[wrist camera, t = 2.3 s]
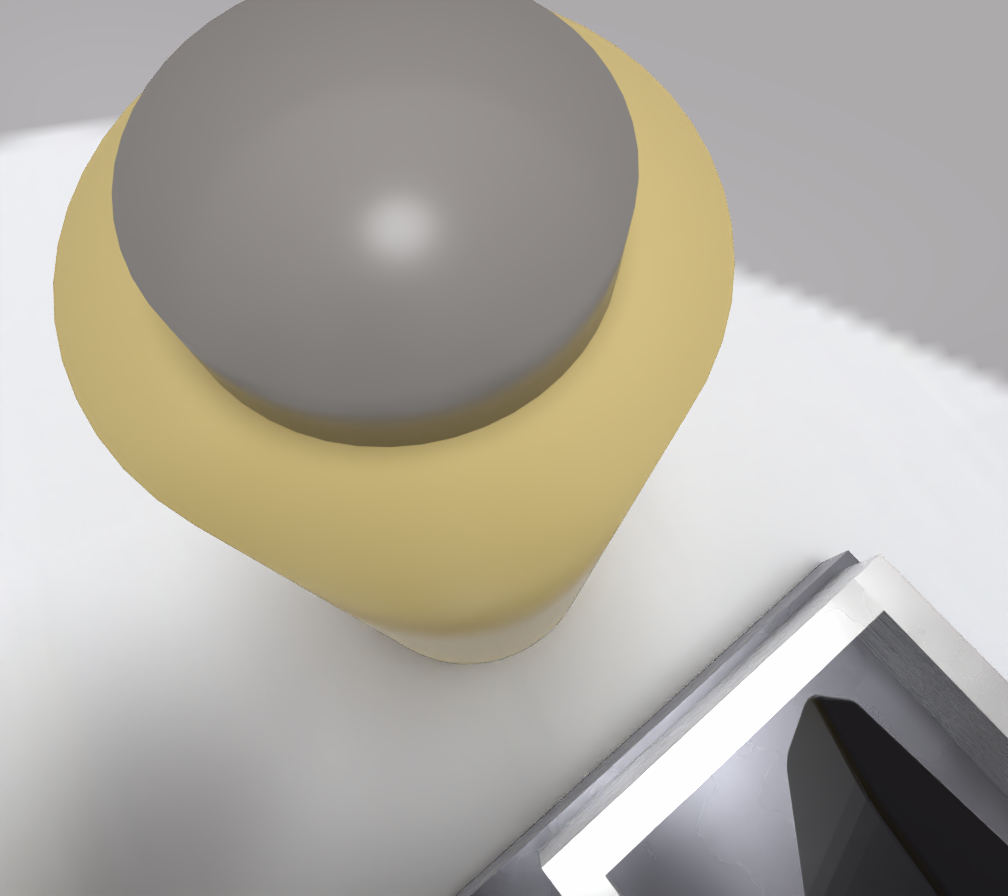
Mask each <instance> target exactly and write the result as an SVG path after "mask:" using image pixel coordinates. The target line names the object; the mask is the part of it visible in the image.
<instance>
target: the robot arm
mask: <svg viewBox="0 0 1008 896" xmlns="http://www.w3.org/2000/svg"><path fill="white" fill-rule="evenodd" d="M787 777H788V784H789V791H790V798H791V805H792V812H793V819H794V825H795V832H796V839H797V846H798V853H799V860H800V867H801V874H802V880H803V887H804V894H805V896H1008V844H1007V843H1006V842H1005V841H1004V840H1003V839H1001V838H1000V837H999V836H998V835H997V834H996V833H995V832H994V831H993V830H992V829H991V828H990V827H989V826H988V825H987V824H986V823H984V822H983V821H982V820H981V819H980V818H979V817H978V816H977V815H976V814H975V813H974V812H973V811H972V810H971V809H970V808H969V807H967V806H966V805H965V804H964V803H963V802H962V801H961V800H960V799H959V798H958V797H957V796H956V795H955V794H954V793H953V792H951V791H950V790H949V789H948V788H947V787H946V786H945V785H944V784H943V783H942V782H941V781H940V780H939V779H938V778H937V777H936V776H934V775H933V774H932V773H931V772H930V771H929V770H928V769H927V768H926V767H925V766H924V765H923V764H922V763H921V762H920V761H919V760H917V759H916V758H915V757H914V756H913V755H912V754H911V753H910V752H909V751H908V750H907V749H906V748H905V747H904V746H903V745H902V744H900V743H899V742H898V741H897V740H896V739H895V738H894V737H893V736H892V735H891V734H890V733H889V732H888V731H887V730H886V729H885V728H883V727H882V726H881V725H880V724H879V723H878V722H877V721H876V720H875V719H874V718H873V717H872V716H871V715H870V714H869V713H868V712H866V711H865V710H864V709H863V708H862V707H861V706H860V705H859V704H858V703H856V702H855V701H853V700H852V699H848V698H844V697H836V696H828V695H820V694H815V695H812V696H810V697H809V698H808V699H807V701H806V702H805V704H804V707H803V710H802V713H801V715H800V718H799V721H798V724H797V727H796V730H795V733H794V735H793V738H792V741H791V744H790V747H789V750H788V755H787Z"/></svg>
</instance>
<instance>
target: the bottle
mask: <svg viewBox="0 0 1008 896" xmlns="http://www.w3.org/2000/svg"><path fill="white" fill-rule="evenodd" d="M734 267H735V260H734V246H733V234H732V224H731V219H730V215H729V210H728V206H727V202H726V197H725V193H724V189H723V186H722V184H721V181H720V179H719V176H718V174H717V171H716V168H715V166H714V163H713V161H712V158H711V155H710V154H709V152H708V150H707V148H706V147H705V145H704V143H703V141H702V140H701V138H700V136H699V134H698V132H697V131H696V129H695V127H694V125H693V124H692V122H691V121H690V119H689V118H688V117H687V115H686V114H685V113H684V112H683V110H682V109H681V108H680V106H679V105H678V104H677V102H676V101H675V100H674V98H673V97H672V96H671V95H670V94H669V92H668V91H667V90H666V89H665V88H664V87H663V86H662V85H661V84H660V83H659V82H658V81H657V80H655V78H653V76H652V75H651V74H650V73H648V71H647V70H646V69H645V68H643V67H642V66H641V65H640V64H639V63H637V62H636V61H635V60H633V59H632V58H631V57H629V56H628V55H627V54H626V53H624V52H623V51H622V50H620V49H619V48H618V47H617V46H616V45H614V44H612V43H610V42H609V41H607V40H606V39H604V38H602V37H601V36H599V35H597V34H596V33H594V32H592V31H591V30H589V29H587V28H586V27H584V26H582V25H580V24H578V23H576V22H574V21H571V20H569V19H567V18H565V17H563V16H561V15H558V14H556V13H554V12H552V11H549V10H548V9H546V8H544V7H543V6H541V5H539V4H538V3H536V2H535V1H533V0H245V1H243V2H241V3H239V4H237V5H235V6H234V7H232V8H230V9H229V10H227V11H226V12H224V13H223V14H221V15H219V16H218V17H216V18H215V19H213V20H211V21H210V22H209V23H207V24H206V25H205V26H204V27H203V28H201V29H200V30H199V31H198V32H197V33H195V34H194V35H193V36H191V37H190V38H189V39H187V40H186V41H185V42H184V43H183V44H182V45H181V46H180V47H179V48H178V49H177V50H176V51H175V52H174V53H173V54H172V55H171V56H170V57H169V58H168V60H166V61H165V62H164V64H163V65H162V66H161V68H160V69H159V70H158V72H157V73H156V74H155V75H154V77H153V78H152V79H151V81H150V82H149V83H148V84H147V86H146V88H145V89H144V91H143V93H141V94H140V95H139V96H138V97H137V98H136V99H135V100H134V102H132V104H130V105H129V106H128V107H127V108H126V110H125V111H124V112H123V114H122V115H121V116H120V117H119V119H118V120H117V121H116V123H115V124H114V125H113V126H112V128H111V129H110V130H109V131H108V133H107V134H106V135H105V137H104V138H103V139H102V141H101V143H100V144H99V146H98V148H97V149H96V151H95V153H94V154H93V156H92V158H91V159H90V161H89V163H88V164H87V166H86V168H85V169H84V171H83V173H82V175H81V178H80V180H79V182H78V185H77V187H76V190H75V192H74V194H73V197H72V199H71V201H70V204H69V206H68V209H67V212H66V216H65V220H64V223H63V227H62V231H61V234H60V238H59V242H58V247H57V255H56V264H55V272H54V281H53V290H54V319H55V326H56V331H57V337H58V342H59V347H60V352H61V357H62V362H63V364H64V367H65V370H66V372H67V375H68V378H69V381H70V383H71V386H72V389H73V391H74V394H75V397H76V399H77V401H78V403H79V405H80V406H81V408H82V410H83V412H84V414H85V415H86V417H87V419H88V421H89V422H90V424H91V426H92V428H93V430H94V431H95V433H96V435H97V436H98V438H99V439H100V440H101V441H102V443H103V444H104V445H105V446H106V448H107V449H108V450H109V451H110V453H111V454H112V455H113V456H114V458H115V459H116V460H117V461H118V463H119V464H120V465H121V466H122V468H123V469H124V470H125V471H126V472H127V473H128V474H129V475H131V476H132V477H133V478H134V479H135V480H136V481H137V482H138V483H139V484H140V485H141V486H143V487H144V488H145V489H146V490H147V491H148V492H149V493H150V494H151V495H152V496H153V497H155V498H156V499H157V500H158V501H160V502H161V503H163V504H164V505H166V506H167V507H169V508H170V509H172V510H173V511H175V512H176V513H177V514H179V515H180V516H182V517H183V518H185V519H186V520H188V521H189V522H191V523H192V524H194V525H195V526H197V527H199V528H200V529H202V530H204V531H206V532H207V533H209V534H211V535H213V536H214V537H216V538H218V539H220V540H221V541H223V542H225V543H226V544H228V545H230V546H232V547H233V548H235V549H237V550H239V551H240V552H242V553H244V554H246V555H247V556H249V557H251V558H252V559H254V560H256V561H258V562H259V563H261V564H263V565H265V566H266V567H268V568H270V569H272V570H273V571H275V572H277V573H278V574H280V575H282V576H284V577H285V578H287V579H289V580H291V581H292V582H294V583H296V584H298V585H299V586H301V587H303V588H304V589H306V590H308V591H310V592H311V593H313V594H315V595H317V596H318V597H320V598H322V599H324V600H325V601H327V602H329V603H330V604H332V605H334V606H336V607H337V608H339V609H341V610H343V611H344V612H346V613H348V614H350V615H351V616H353V617H355V618H356V619H358V620H360V621H362V622H363V623H365V624H367V625H369V626H370V627H372V628H374V629H376V630H377V631H379V632H381V633H382V634H384V635H386V636H388V637H389V638H391V639H393V640H395V641H396V642H398V643H400V644H402V645H403V646H405V647H407V648H408V649H411V650H413V651H415V652H417V653H419V654H421V655H423V656H426V657H429V658H432V659H435V660H438V661H444V662H449V663H457V664H477V663H487V662H491V661H495V660H500V659H504V658H506V657H509V656H511V655H514V654H517V653H519V652H521V651H523V650H524V649H526V648H528V647H530V646H532V645H533V644H535V643H536V642H537V641H539V640H540V639H541V638H543V637H544V636H545V635H547V634H548V633H549V632H550V631H551V630H552V629H553V628H554V627H555V626H556V625H557V624H558V623H559V621H560V620H561V619H562V618H563V616H564V615H565V614H566V612H567V611H568V609H569V608H570V606H571V605H572V603H573V601H574V600H575V598H576V596H577V595H578V593H579V591H580V590H581V588H582V586H583V585H584V583H585V581H586V580H587V578H588V576H589V575H590V573H591V572H592V570H593V568H594V567H595V565H596V563H597V562H598V560H599V558H600V557H601V555H602V553H603V552H604V550H605V548H606V547H607V545H608V544H609V542H610V540H611V539H612V537H613V535H614V534H615V532H616V530H617V529H618V527H619V525H620V524H621V522H622V520H623V519H624V517H625V516H626V514H627V512H628V511H629V509H630V507H631V506H632V504H633V502H634V501H635V499H636V497H637V496H638V494H639V492H640V491H641V489H642V488H643V486H644V484H645V483H646V481H647V479H648V478H649V476H650V474H651V473H652V471H653V469H654V468H655V466H656V464H657V463H658V461H659V460H660V458H661V456H662V455H663V453H664V451H665V450H666V448H667V446H668V445H669V443H670V441H671V440H672V438H673V436H674V435H675V433H676V432H677V430H678V428H679V427H680V425H681V423H682V422H683V420H684V418H685V417H686V415H687V413H688V412H689V410H690V408H691V406H692V405H693V403H694V401H695V400H696V398H697V396H698V395H699V393H700V391H701V390H702V388H703V386H704V384H705V383H706V381H707V379H708V376H709V374H710V371H711V369H712V366H713V364H714V361H715V359H716V356H717V354H718V351H719V349H720V347H721V344H722V341H723V337H724V333H725V329H726V324H727V320H728V316H729V312H730V307H731V303H732V292H733V279H734Z"/></svg>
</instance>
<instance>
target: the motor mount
mask: <svg viewBox="0 0 1008 896" xmlns="http://www.w3.org/2000/svg"><path fill="white" fill-rule="evenodd" d="M815 694H820V695H828V696H836V697H844V698H848V699H852V700H853V701H855V702H856V703H858V704H859V705H860V706H861V707H862V708H863V709H864V710H865V711H866V712H868V713H869V714H870V715H871V716H872V717H873V718H874V719H875V720H876V721H877V722H878V723H879V724H880V725H881V726H882V727H883V728H885V729H886V730H887V731H888V732H889V733H890V734H891V735H892V736H893V737H894V738H895V739H896V740H897V741H898V742H899V743H900V744H902V745H903V746H904V747H905V748H906V749H907V750H908V751H909V752H910V753H911V754H912V755H913V756H914V757H915V758H916V759H917V760H919V761H920V762H921V763H922V764H923V765H924V766H925V767H926V768H927V769H928V770H929V771H930V772H931V773H932V774H933V775H934V776H936V777H937V778H938V779H939V780H940V781H941V782H942V783H943V784H944V785H945V786H946V787H947V788H948V789H949V790H950V791H951V792H953V793H954V794H955V795H956V796H957V797H958V798H959V799H960V800H961V801H962V802H963V803H964V804H965V805H966V806H967V807H969V808H970V809H971V810H972V811H973V812H974V813H975V814H976V815H977V816H978V817H979V818H980V819H981V820H982V821H983V822H984V823H986V824H987V825H988V826H989V827H990V828H991V829H992V830H993V831H994V832H995V833H996V834H997V835H998V836H999V837H1000V838H1001V839H1003V840H1004V841H1005V842H1006V843H1007V844H1008V682H1007V681H1006V680H1005V679H1004V678H1003V677H1002V676H1001V675H1000V674H999V673H998V672H997V671H996V670H995V669H994V668H993V667H992V666H991V665H990V664H989V663H988V662H987V661H986V660H985V659H984V658H983V657H982V656H981V655H980V654H979V653H978V652H977V651H976V650H975V649H974V648H973V647H972V646H971V645H970V644H969V643H968V642H967V641H966V640H965V639H964V638H963V637H962V636H961V635H960V634H959V633H958V631H957V630H956V629H955V628H954V627H953V626H952V625H951V624H950V623H949V622H948V621H947V620H946V619H945V618H944V617H943V616H942V615H941V614H940V613H939V612H938V611H937V610H936V609H935V608H934V607H933V606H932V605H931V604H930V603H929V602H928V601H927V600H926V599H925V598H924V597H923V596H922V595H921V594H920V593H919V592H918V591H917V590H916V589H915V588H914V587H913V586H912V585H911V584H910V583H909V582H908V581H907V580H906V579H905V578H904V577H903V576H902V575H901V574H900V573H899V572H898V571H897V570H896V569H895V568H894V567H893V566H892V565H891V564H890V563H889V562H888V561H887V560H886V559H885V558H884V557H883V556H882V555H881V554H879V555H877V556H874V557H872V558H870V559H867V560H865V561H862V562H859V561H858V560H857V559H856V558H855V557H854V556H853V555H852V554H851V553H850V552H849V551H846V552H844V553H841V554H839V555H837V556H835V557H833V558H831V559H828V560H826V561H824V562H822V563H821V564H820V565H819V566H818V567H817V568H816V569H815V570H813V571H812V572H811V573H810V574H809V575H808V576H807V577H806V578H805V579H804V580H802V581H801V582H800V583H799V584H798V585H797V586H796V587H795V588H794V589H793V590H791V591H790V592H789V593H788V594H787V595H786V596H785V597H784V598H783V599H782V600H780V601H779V602H778V603H777V604H776V605H775V606H774V607H773V608H772V609H771V610H769V611H768V612H767V613H766V614H765V615H764V616H763V617H762V618H761V619H760V620H758V621H757V622H756V623H755V624H754V625H753V626H752V627H751V628H750V629H749V630H747V631H746V632H745V633H744V634H743V635H742V636H741V637H740V638H739V639H738V640H736V641H735V642H734V643H733V644H732V645H731V646H730V647H729V648H728V649H727V650H725V651H724V652H723V653H722V654H721V655H720V656H719V657H718V658H717V659H716V660H714V661H713V662H712V663H711V664H710V665H709V666H708V667H707V668H706V669H705V670H703V671H702V672H701V673H700V674H699V675H698V676H697V677H696V678H695V679H694V680H692V681H691V682H690V683H689V684H688V685H687V686H686V687H685V688H684V689H683V690H681V691H680V692H679V693H678V694H677V695H676V696H675V697H674V698H673V699H672V700H671V701H669V702H668V703H667V704H666V705H665V706H664V707H663V708H662V709H661V710H660V711H658V712H657V713H656V714H655V715H654V716H653V717H652V718H651V719H650V720H649V721H647V722H646V723H645V724H644V725H643V726H642V727H641V728H640V729H639V730H638V731H636V732H635V733H634V734H633V735H632V736H631V737H630V738H629V739H628V740H627V741H625V742H624V743H623V744H622V745H621V746H620V747H619V748H618V749H617V750H616V751H614V752H613V753H612V754H611V755H610V756H609V757H608V758H607V759H606V760H605V761H603V762H602V763H601V764H600V765H599V766H598V767H597V768H596V769H595V770H594V771H592V772H591V773H590V774H589V775H588V776H587V777H586V778H585V779H584V780H583V781H581V782H580V783H579V784H578V785H577V786H576V787H575V788H574V789H573V790H572V791H570V792H569V793H568V794H567V795H566V796H565V797H564V798H563V799H562V800H561V801H559V802H558V803H557V804H556V805H555V806H554V807H553V808H552V809H551V810H550V811H548V812H547V813H546V814H545V815H544V816H543V817H542V818H541V819H540V820H539V821H537V822H536V823H535V824H534V825H533V826H532V827H531V828H530V829H529V830H528V831H526V832H525V833H524V834H523V835H522V836H521V837H520V838H519V839H518V840H517V841H516V842H514V843H513V844H512V845H511V846H510V847H509V848H508V849H507V850H506V851H505V852H503V853H502V854H501V855H500V856H499V857H498V858H497V859H496V860H495V861H494V862H492V863H491V864H490V865H489V866H488V867H487V868H486V869H485V870H484V871H483V872H481V873H480V874H479V875H478V876H477V877H476V878H475V879H474V880H473V881H472V882H470V883H469V884H468V885H467V886H466V887H465V888H464V889H463V890H462V891H461V892H459V893H458V894H457V895H456V896H805V894H804V887H803V880H802V874H801V867H800V860H799V853H798V846H797V839H796V832H795V825H794V819H793V812H792V805H791V798H790V791H789V784H788V777H787V755H788V750H789V747H790V744H791V741H792V738H793V735H794V733H795V730H796V727H797V724H798V721H799V718H800V715H801V713H802V710H803V707H804V704H805V702H806V701H807V699H808V698H809V697H810V696H812V695H815Z"/></svg>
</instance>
